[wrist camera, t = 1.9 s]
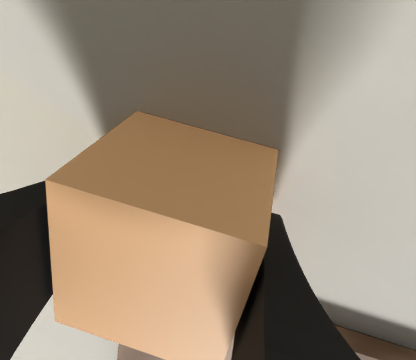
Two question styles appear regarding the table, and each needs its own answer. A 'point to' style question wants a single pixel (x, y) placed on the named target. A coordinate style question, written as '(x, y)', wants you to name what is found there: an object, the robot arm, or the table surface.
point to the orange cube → (160, 236)
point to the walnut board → (361, 344)
